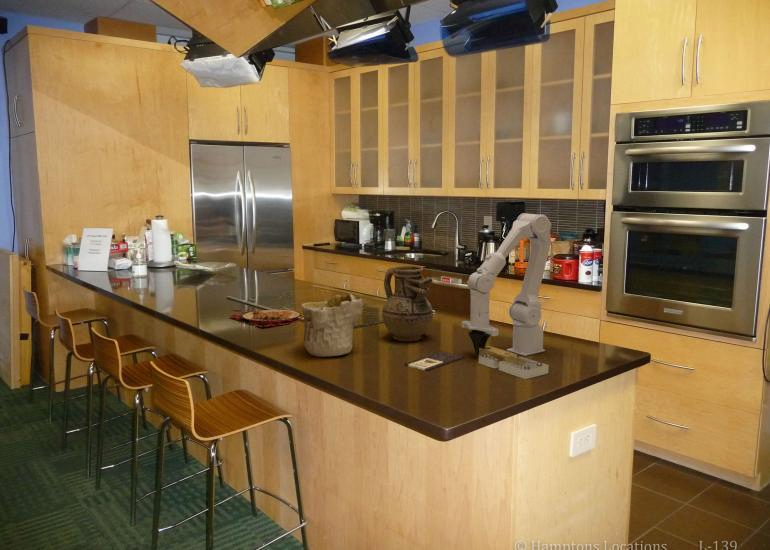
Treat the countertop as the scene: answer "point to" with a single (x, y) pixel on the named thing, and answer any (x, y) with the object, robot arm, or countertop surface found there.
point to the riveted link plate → (499, 354)
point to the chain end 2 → (524, 368)
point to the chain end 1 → (488, 361)
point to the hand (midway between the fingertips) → (479, 354)
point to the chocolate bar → (434, 361)
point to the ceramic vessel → (330, 325)
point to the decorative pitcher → (407, 303)
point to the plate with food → (268, 317)
